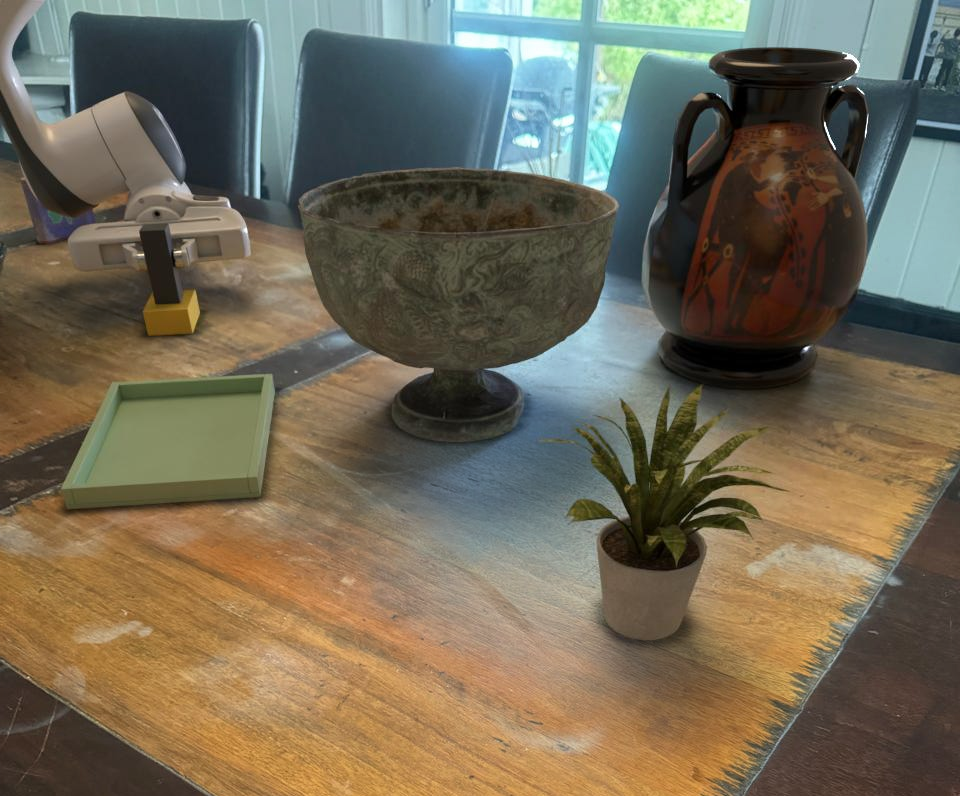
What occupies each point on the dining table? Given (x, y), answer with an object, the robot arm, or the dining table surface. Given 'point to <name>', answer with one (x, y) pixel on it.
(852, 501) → the dining table surface
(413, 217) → the decorative bowl
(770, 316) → the amphora vase
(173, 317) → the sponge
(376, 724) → the dining table surface
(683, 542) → the house plant
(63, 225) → the flask
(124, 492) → the tray
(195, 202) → the robot arm
